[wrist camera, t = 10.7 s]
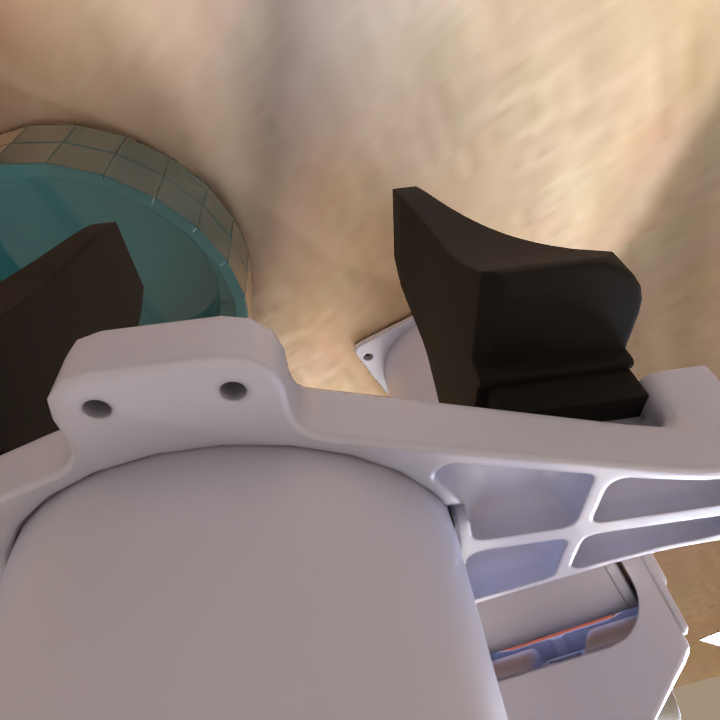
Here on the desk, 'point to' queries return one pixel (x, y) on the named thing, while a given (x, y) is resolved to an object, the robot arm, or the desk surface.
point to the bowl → (124, 217)
